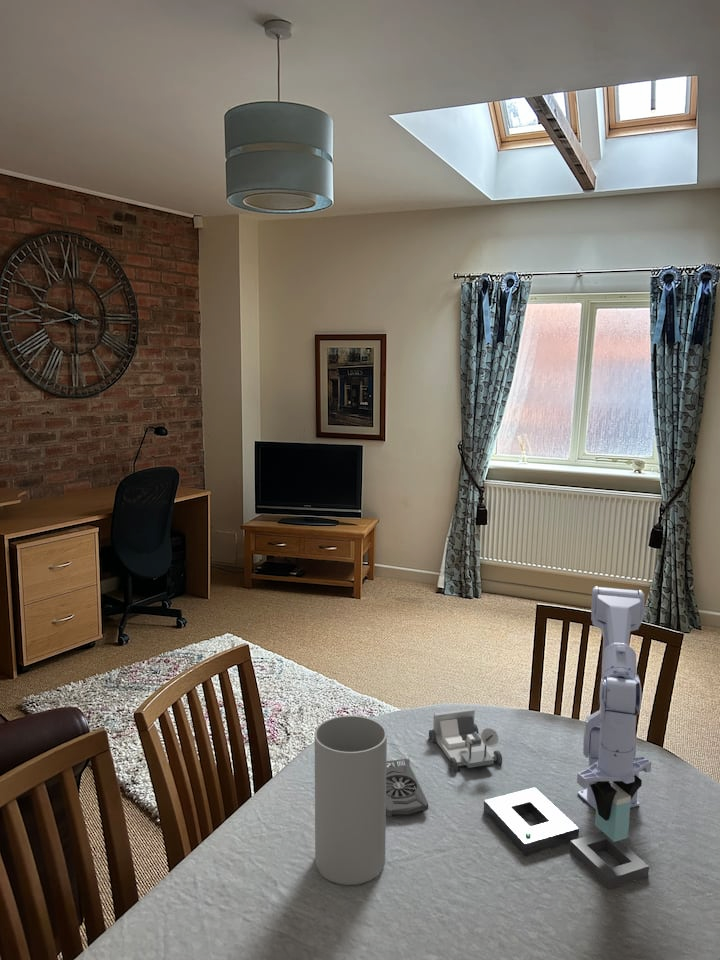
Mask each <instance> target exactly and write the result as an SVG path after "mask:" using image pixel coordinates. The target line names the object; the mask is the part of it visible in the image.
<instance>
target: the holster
mask: <svg viewBox="0 0 720 960" xmlns="http://www.w3.org/2000/svg"><path fill="white" fill-rule="evenodd" d="M603 850H607V851H608V852H609V853H610V855H612V856H613V857H614V858H615V859H616V860H618V861H619V862H620V863H621V864H620V865H616V866H614V867H610V865H609V864H608V863H607V862H605V861H604V860H603V859H602V858H601V857H600V856H599V855H598V854H597V853H596V852H600V851H603ZM569 851H570V852H571V853H572V854H573V855H574V856H575V857H576V858H577V859H578V860H579V861H580V862H581V863H582V864H583V865H584V866H585V867H586V868H587V869H588V870H589V871H590V872H591V873H592V874H593V875H594V876H595V877H596V878H597V879H598V880H599V881H600V882H601V883H602V884H603V885H604V886H605V887H606V888H607V889H608V890H611V889H614V888H616V887H620V886H623V885H626V884H629V883H632V882H636V881H638V880H641V879H645V878H647V877H649V872H650V866H649V865H648V864H647V863H646V862H645V861H644V860H643V859H641V858H640V857H639V856H638V855H637V854H636V853H635V852H634V851H632V849H630V848H629V846H627V845H626V844H625V843H624V842H622V840H619V841H616V842H614V841H612V840H611V839H610V838H609V837H608V836H607V835H606V834H605V833H604V832H602V831H599V832H597V833H593V834H589V835H584V836H581V837H579V838H578V839H575V840H571V842H570V843H569Z"/></svg>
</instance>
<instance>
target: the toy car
mask: <svg viewBox="0 0 720 960" xmlns="http://www.w3.org/2000/svg"><path fill="white" fill-rule="evenodd" d="M475 711H476V710H475V708H472V707H471V708H463V709H457V710H451V711H449V710H448V711H442V712H435V713H433V727H432V728H433V729H429V731H428V738H429V740H430V741H431V743H432V744H435V743H437V744H438V745H439V747H440V748H441V750H442V752H444V754H445V755H446V757H447V758H448V766H449V768H450V769H451V771H452V772H453V773H456V772H457V771H458V770H459V769H458V767H463V766H466V767H467V768H468V769H469V768H476V767H482V766H483V767H484V766H488V765H493V764H494V763H496V762H497V763H496V764H497V765H498V766H499V765H502V764H503V755H502V753H501V752H500V751H499V750H494V751H493V750H492V749H491V748H493V747H496V746H497V745H498V743H499V739H500V738H499V735H498V732H496V730H494V729H492V728H489V727H486V728H484V729H483V730H482V731H481V734H480V735H479V728H478V724H476V723H475V714H476V713H475ZM495 761H496V762H495Z"/></svg>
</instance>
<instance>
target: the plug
mask: <svg viewBox="0 0 720 960" xmlns="http://www.w3.org/2000/svg"><path fill="white" fill-rule="evenodd" d="M609 783H611V787H613V788H614V789H615V790H616V791H617V793H616V794H615V796H614V799H613V802H612V806H611V814H610V818H609V820H607V821H605V820H604V819H603V818H602V817H601V816H600V815H598V810H597V805H596V810H595V820H594V825H595V826H596V827H597V828H598V829H599V830H600V832H604V833H605V834H606V835H607V836H608V837H609V838H610V839H611V840H612V841H614V842H616V841H619V840H620V841H622V840H625V839H628V838H629V827H630V816H631V815H630V814H631V812H630V811H631V808H630V803H631V796H630V795H629V794H627V793H626V792H625V791H624V790H622V789H621V788H620V787H619V786H617V785H616V784H615V783H614V782H612V781H609Z"/></svg>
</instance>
